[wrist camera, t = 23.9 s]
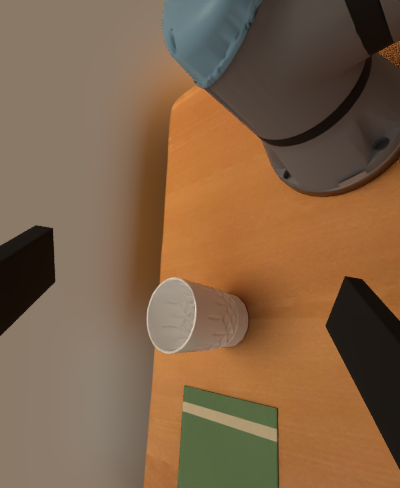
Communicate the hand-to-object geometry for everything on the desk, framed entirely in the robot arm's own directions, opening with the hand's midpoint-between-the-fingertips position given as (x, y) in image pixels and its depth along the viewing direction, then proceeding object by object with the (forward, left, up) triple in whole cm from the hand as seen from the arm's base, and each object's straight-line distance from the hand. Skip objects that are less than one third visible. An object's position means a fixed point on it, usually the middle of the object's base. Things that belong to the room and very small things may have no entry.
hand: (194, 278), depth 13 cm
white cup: (+1, -15, -22) cm, 27 cm away
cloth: (+20, -15, -22) cm, 33 cm away
